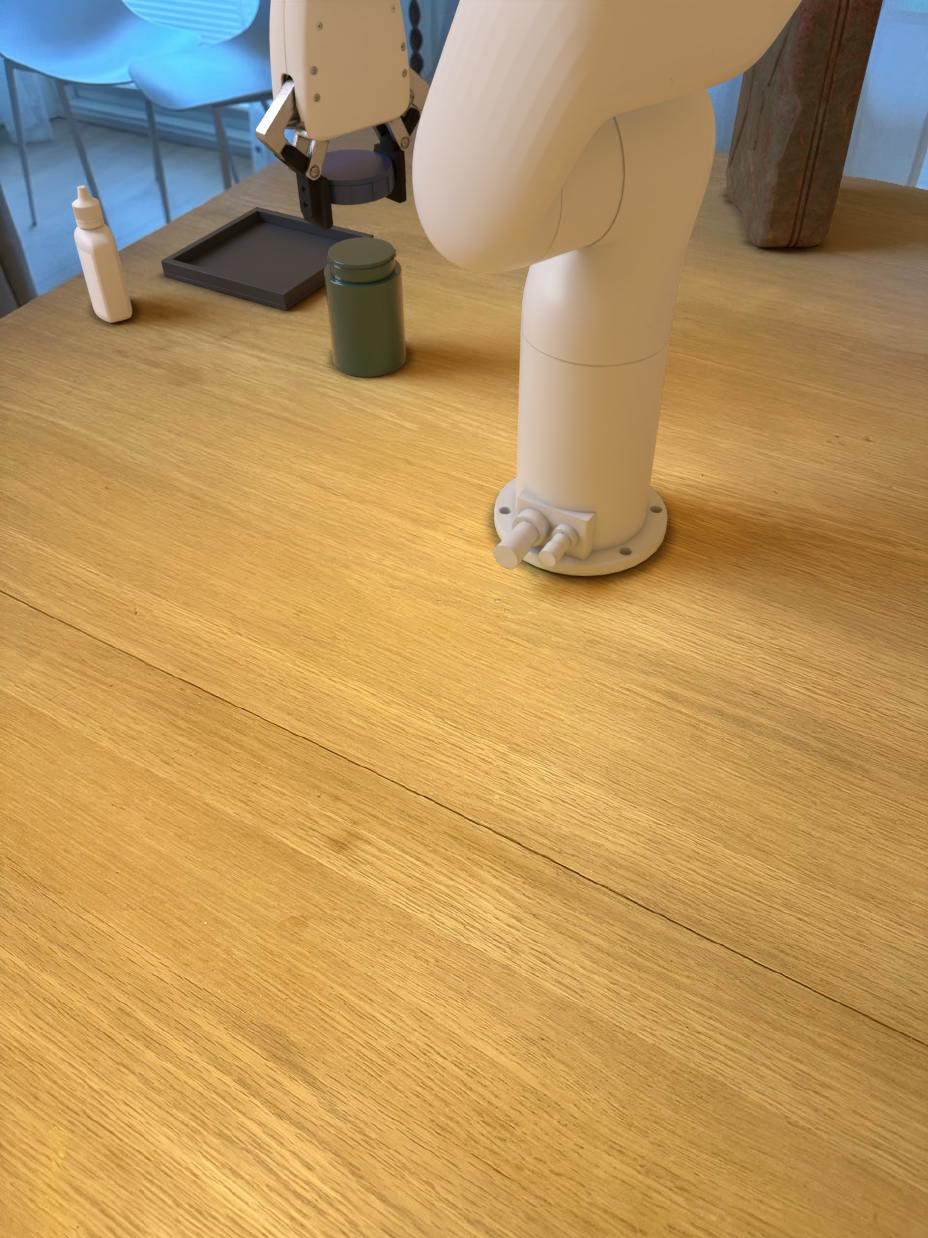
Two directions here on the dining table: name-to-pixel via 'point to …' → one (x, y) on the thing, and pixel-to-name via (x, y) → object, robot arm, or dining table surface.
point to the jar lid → (358, 176)
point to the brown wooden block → (800, 122)
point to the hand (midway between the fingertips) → (355, 209)
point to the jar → (365, 307)
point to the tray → (260, 258)
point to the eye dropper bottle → (100, 260)
